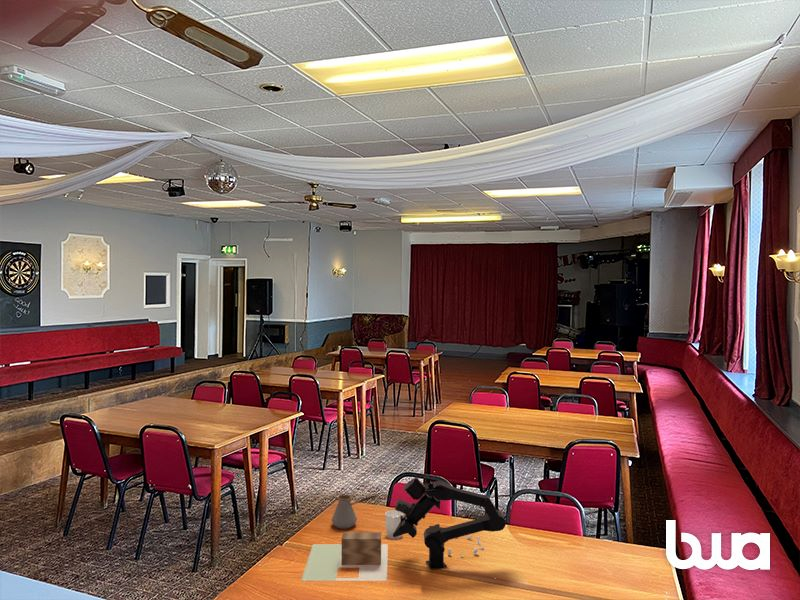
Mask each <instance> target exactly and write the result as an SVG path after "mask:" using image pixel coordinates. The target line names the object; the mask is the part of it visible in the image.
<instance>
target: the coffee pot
mask: <svg viewBox="0 0 800 600" xmlns="http://www.w3.org/2000/svg"><path fill="white" fill-rule="evenodd" d="M374 498H375V499H376V500H379V497H378V495H377V494H375V495H371V496H367V497H364V498H362V499H359V500H358V501H354V502H351V499H352V496H351V495H349V494H341V495H338V496H337V500H338V503H337V505H336V508H335V510H334V512H333V515H332V517H331V523H332V524H333V525H334V526H335V527H336V528H337V529H340V530H341V529H342V530H344V529H345V530H347V529H351V528H353V526H354V525H355V524H356V523H357V520H358V517H357V515H356V512H355V511H354V508H353V506H354V505H356V504H359V503H363V502H366V501H369V500H371V499H374Z"/></svg>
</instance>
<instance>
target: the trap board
mask: <svg viewBox="0 0 800 600" xmlns="http://www.w3.org/2000/svg"><path fill="white" fill-rule="evenodd" d="M388 550H389V544H387V543H386V544H385V543H381V565H342V543H337V544H336V543H334V544H333V543H329V544H328V543H324V544H323V543H313V544H312V546H311V549H310V551H309V555H308V559H307V561H306V564H305V567H304V571H303V574H302V577H301V582H304V581H305V582H360V581H361V582H363V581H364V582H374V581H375V582H384V581H385V582H386V581H388V557H389V556H388V554H389V551H388ZM340 568H342V569H343V568H346V569H347V568H351V569H352V568H354V569H355V568H358V569H359V570H358V577H338V571H339V569H340Z"/></svg>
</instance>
